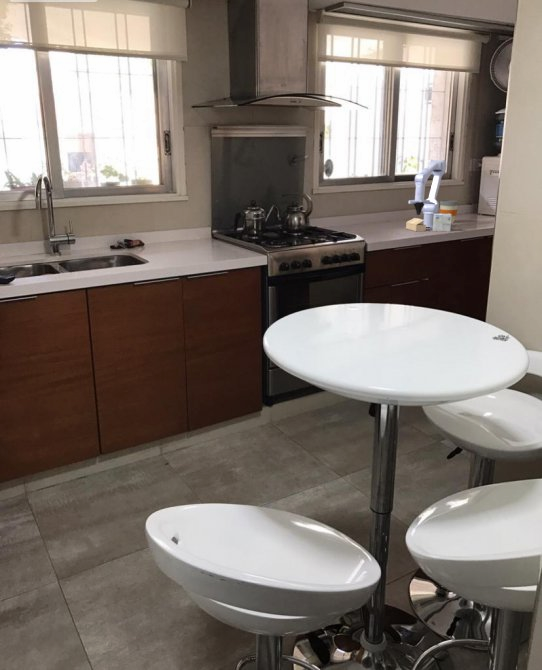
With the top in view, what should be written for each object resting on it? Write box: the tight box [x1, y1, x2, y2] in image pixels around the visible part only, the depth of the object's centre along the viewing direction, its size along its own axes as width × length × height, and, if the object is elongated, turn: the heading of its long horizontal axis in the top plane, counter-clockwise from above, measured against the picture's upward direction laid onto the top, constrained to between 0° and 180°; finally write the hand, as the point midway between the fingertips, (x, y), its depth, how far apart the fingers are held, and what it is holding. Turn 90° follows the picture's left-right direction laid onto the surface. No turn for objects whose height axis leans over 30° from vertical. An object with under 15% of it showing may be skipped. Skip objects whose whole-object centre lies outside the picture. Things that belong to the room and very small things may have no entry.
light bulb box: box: [432, 213, 452, 232], centre depth 384 cm, size 11×7×11 cm, turn 84°
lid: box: [405, 217, 425, 225], centre depth 386 cm, size 13×6×1 cm, turn 17°
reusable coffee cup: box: [439, 199, 459, 223], centre depth 422 cm, size 13×13×15 cm
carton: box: [405, 223, 427, 232], centre depth 387 cm, size 13×7×4 cm, turn 17°
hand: (418, 214), depth 385 cm, fingers closed
